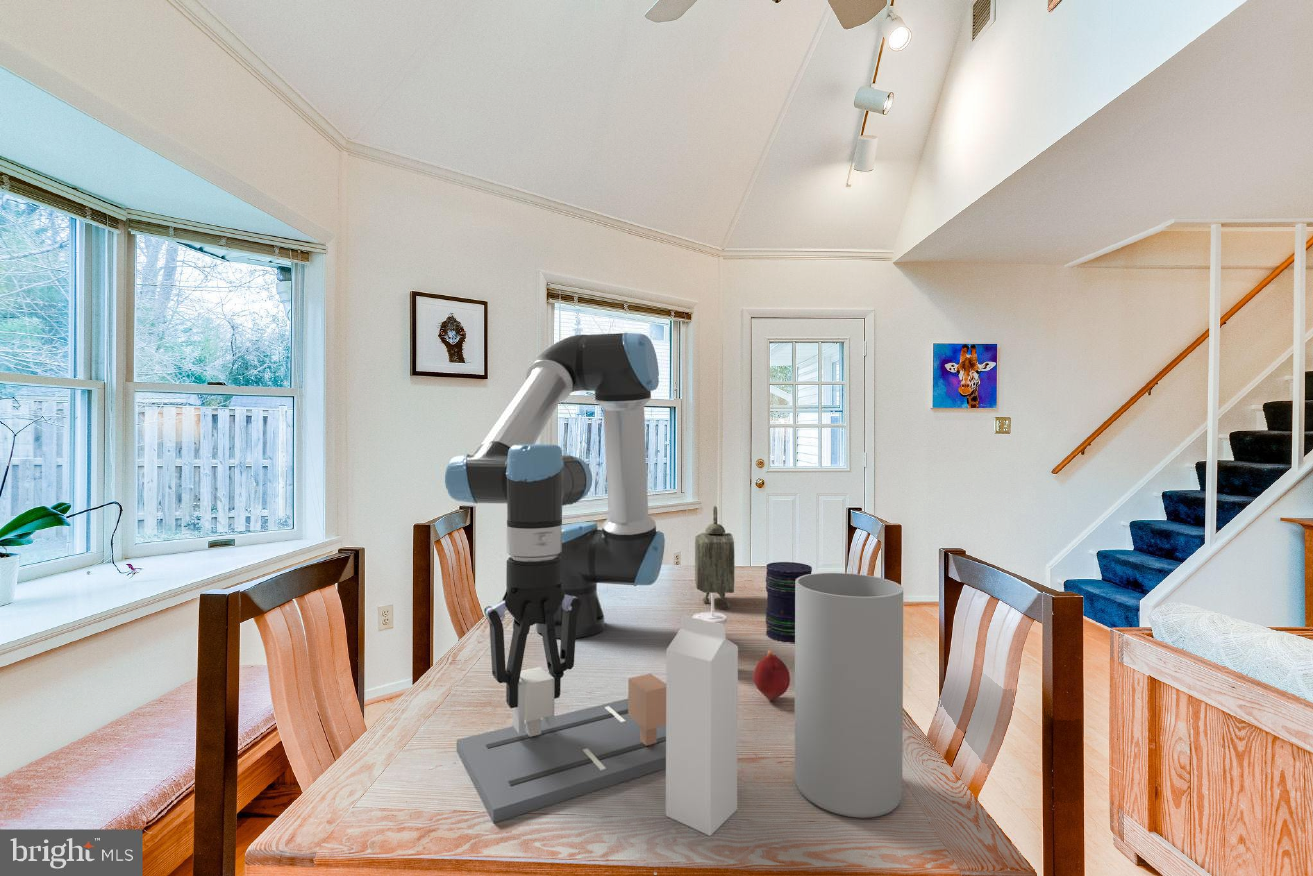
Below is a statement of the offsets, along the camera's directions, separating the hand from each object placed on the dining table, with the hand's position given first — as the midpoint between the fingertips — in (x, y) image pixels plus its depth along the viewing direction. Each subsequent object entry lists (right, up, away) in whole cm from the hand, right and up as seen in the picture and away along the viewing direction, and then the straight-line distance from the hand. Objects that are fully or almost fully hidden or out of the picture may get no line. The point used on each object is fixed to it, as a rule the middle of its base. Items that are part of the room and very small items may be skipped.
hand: (533, 725), depth 84 cm
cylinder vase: (+40, -3, -10) cm, 41 cm away
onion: (+36, -3, +15) cm, 39 cm away
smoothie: (+27, -3, +29) cm, 39 cm away
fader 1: (0, -1, 0) cm, 1 cm away
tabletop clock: (+32, -3, +73) cm, 80 cm away
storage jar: (+46, -3, +48) cm, 66 cm away
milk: (+22, -3, -15) cm, 27 cm away
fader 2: (+16, -1, -2) cm, 16 cm away
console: (+6, -3, -2) cm, 7 cm away
